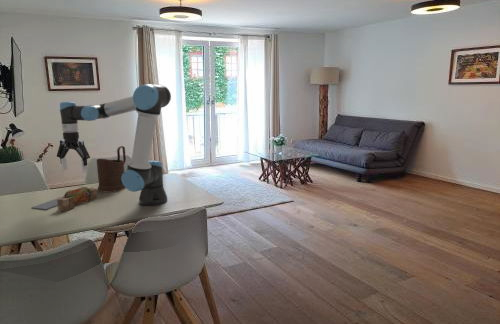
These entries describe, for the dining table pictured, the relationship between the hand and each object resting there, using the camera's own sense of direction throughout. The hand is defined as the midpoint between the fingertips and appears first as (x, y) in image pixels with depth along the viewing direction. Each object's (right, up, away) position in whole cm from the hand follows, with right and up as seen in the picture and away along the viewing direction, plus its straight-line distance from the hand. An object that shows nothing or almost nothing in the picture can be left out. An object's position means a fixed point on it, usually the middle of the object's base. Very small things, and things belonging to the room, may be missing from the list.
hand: (74, 170), depth 195 cm
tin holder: (0, -18, +4) cm, 19 cm away
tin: (0, -18, +5) cm, 19 cm away
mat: (-13, -18, +7) cm, 23 cm away
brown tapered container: (+7, -11, +39) cm, 41 cm away
